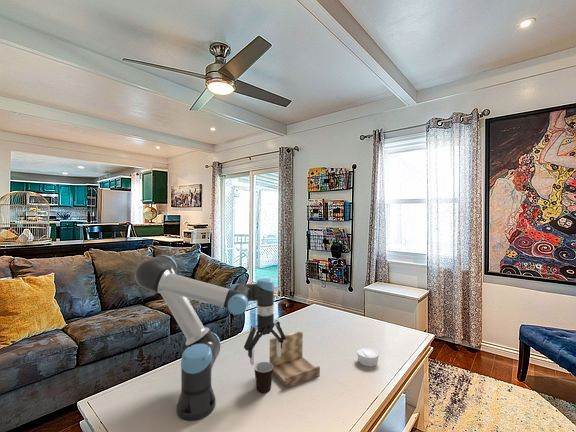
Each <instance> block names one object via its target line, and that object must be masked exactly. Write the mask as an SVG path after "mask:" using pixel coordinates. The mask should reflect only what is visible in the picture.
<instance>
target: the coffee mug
mask: <svg viewBox="0 0 576 432" xmlns="http://www.w3.org/2000/svg"><path fill="white" fill-rule="evenodd" d="M253 369H254V375H255V386H256V387H255V388H256V391H257V392H258V393H260V394H268V393H269V392H270V391H271V389H272V383H273V382H272V381H273V376H274V375H273V364H271V363H270V361H260V362H258V363H255V364H254V365H253Z"/></svg>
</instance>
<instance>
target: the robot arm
mask: <svg viewBox="0 0 576 432" xmlns="http://www.w3.org/2000/svg"><path fill="white" fill-rule="evenodd" d="M177 270H178V264H177V262H176V260H175V259H174V258H172V257H171V256H169V255H165V254H161V255H156V256H154V257H152V258H149V259H146V260H144V261H142V262H140V263H139V264H138V266H137V267H136V269H135V271H134V280H135V281H136V284H137V285H138V286H139V287H141V289H145V290H147V291H151V292H155V293H158V294H160V295H161V297H162V299H163V300H164V302H165V303H166V306H167V307H168V309H169V311H170V312H171V314H172V316H173V318H174V319H175V321H176V322H177V324H178V326H179V328H180V330H181V332H182V333H183V334H184V337H185V339H186V341H185V346H186V348H185V350H184V351H183V352H182V355H181V360H180V361H181V362H180V366H181V368H180V369H181V370H180V371H181V372H180V373H181V375H180V376H181V377H180V379H181V381H180V382H181V384H180V385H181V386H180V387H181V391H180V393H179V397H178V400H177V402H176V403H177V404H176V415H177V416H178V417H179V418H180V419H182V420H184V421H198V420H201V419H204V418H205V417H208V416H209V415H210V414H211V413H212V412H213V411H214V410H215V408H216V403H217V402H216V399H217V398H216V395H215V392H214V389H213V387H212V386H213V385H212V369H213V367H214V365H215V362H216V360H217V359H218V356H219V354H220V352H221V345H222V344H221V340H220V337H219V336H218V334H216V333H215V332H213V331H211V329H210V327H206V326H204V325H203V322H202V321H201V318H199V316H198V314H197V312H196V310H195V308H194V307H193V305H192V303H191V301H190V300H189V299H191V300H194V301H198V302H202V303H206V304H210V305H213V306H216V307H217V306H218V307H220V308H225V309H227V310H228V312H230V313H231V314H233V315H236V316H237V315H238V316H239V315H241V314H243V313H244V312H245V311H246V310H247V307H248V306H249V302H255V301H256V302H257V303H256V313H257V314H256V315H257V317H256V320H257V321H256V322H257V325H256V326H253V325H251V326H250V331H249V333H248V336H247V338H246V341H245V343H244V346H243V348H244V350H245V351H247V356H248V357H249V363H250V365H251V366H253V367H254V366H255V351H254V348H255V347H256V345H257V344H258V342H259V340H260V339H261V338H262V336H266V335H270V334H272V335H273V336H274V338H275V337H276V338H277V339H278V341H277V355H278V356H279V357H281V348H282V343H283V342H284V341H283V340H286V337H285V335H286V334H284V331H283V329H282V327H281V322H280V321H278V320H274V319H275V317H274V316H275V313H274V312H275V307H274V306H275V305H274V301H275V300H274V298H275V296H274V295H275V290H274V289H275V288H274V281H273V280H272V279H271V278H267V277H266V278H259V279H257V281H256V283H234V284H231V285H230V288H227V287H223V286H220V285H216V284H213V283H208V282H206V281H201V280H197V279H193V278H191V277H187V276H183V275H180V274H179V273H178V272H177ZM274 327H275V328H276V330H277V332H278V334H277V332H276V331H275V330H274ZM279 336H281V337H279Z"/></svg>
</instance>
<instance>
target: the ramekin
mask: <svg viewBox="0 0 576 432" xmlns="http://www.w3.org/2000/svg"><path fill="white" fill-rule="evenodd" d="M356 354H357V359H358V362H359V363H360V364H361V365H363V366H365V367H368V366H369V367H371V368H372V367H375V366H376V365H377V364H378V361H379V357H380V353H379V352H378V351H377V350H376V349H374V348H370V347H360V348H359V349H357V351H356ZM369 367H368V368H369Z"/></svg>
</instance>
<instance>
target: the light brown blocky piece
mask: <svg viewBox="0 0 576 432" xmlns="http://www.w3.org/2000/svg"><path fill="white" fill-rule="evenodd" d="M303 333H304V331H302V330H297V331H295V332H292V333H291V332H290V333H287V334H284V335H285V337H286V340H283V341H284V342H283V343H282V348H281V357H279V356H278V355H277V341H278V339H277V338H276V337H275V336H274V337H272V338H269V363H271V364H273V375H272V376H273V377H275V378H276V379H277V380H278V381H279V382H280V384H282V385H283V386H284V387H285V389H288V388H291V387H294V386H297V385H299V384H301V383H304V382H307V381H309V380H311V379H314V378H318V377H320V375H321V373H320V372H321V369H320V365H317V366H315V365H313V364H312V363H311V362H309V360H307V359H306V358H305V357H304V356H303V348H304V347H303V343H304V342H303V337H304V335H303ZM278 336H279V337H281V336H280V335H278Z"/></svg>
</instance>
